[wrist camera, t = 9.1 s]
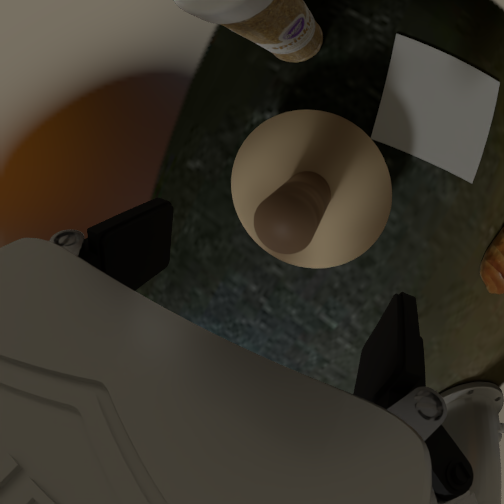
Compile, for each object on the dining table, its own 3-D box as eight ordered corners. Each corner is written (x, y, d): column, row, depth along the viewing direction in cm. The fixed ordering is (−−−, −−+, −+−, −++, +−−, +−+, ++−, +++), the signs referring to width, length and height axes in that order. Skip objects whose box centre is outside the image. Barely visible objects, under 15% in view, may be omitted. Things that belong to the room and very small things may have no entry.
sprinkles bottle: (310, 71, 19) (239, 24, 8) (258, 51, 20) (149, 8, 9) (333, 25, 17) (287, -64, 6) (280, 6, 17) (190, -71, 6)
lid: (412, 142, 16) (436, 156, 10) (357, 283, 21) (348, 345, 16) (252, 93, 18) (199, 88, 12) (225, 233, 24) (177, 275, 18)
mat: (498, 82, 13) (499, 82, 13) (470, 182, 18) (472, 183, 18) (395, 34, 15) (396, 33, 15) (370, 138, 20) (370, 138, 20)
